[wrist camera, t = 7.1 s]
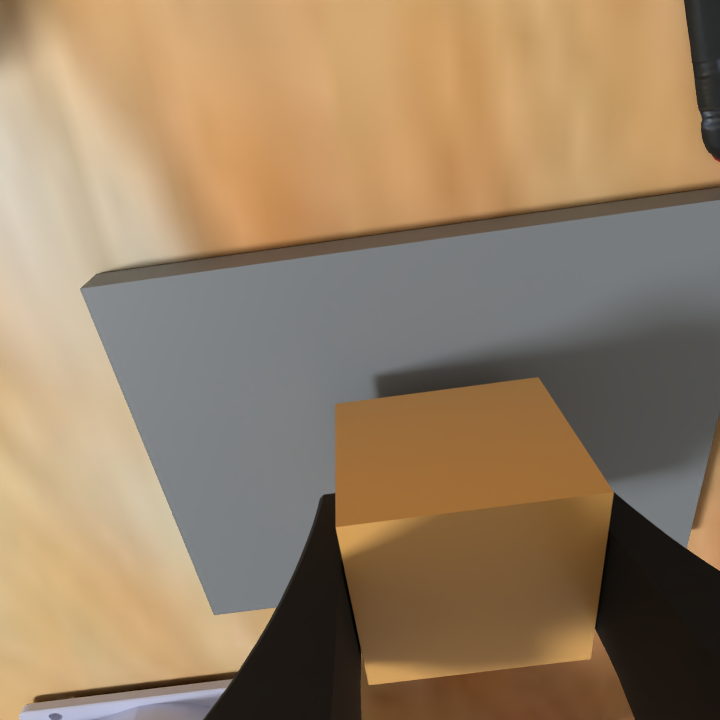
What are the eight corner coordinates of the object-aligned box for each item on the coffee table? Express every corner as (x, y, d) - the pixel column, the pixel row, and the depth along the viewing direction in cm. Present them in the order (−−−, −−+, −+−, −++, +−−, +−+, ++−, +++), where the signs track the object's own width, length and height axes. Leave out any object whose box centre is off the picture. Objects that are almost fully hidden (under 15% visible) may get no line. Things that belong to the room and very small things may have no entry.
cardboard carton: (360, 545, 16) (368, 685, 12) (335, 403, 13) (335, 527, 10) (532, 524, 15) (590, 659, 12) (538, 377, 13) (614, 492, 9)
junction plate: (219, 589, 19) (197, 690, 16) (96, 274, 13) (25, 336, 10) (667, 533, 19) (733, 625, 16) (743, 183, 13) (871, 220, 10)
